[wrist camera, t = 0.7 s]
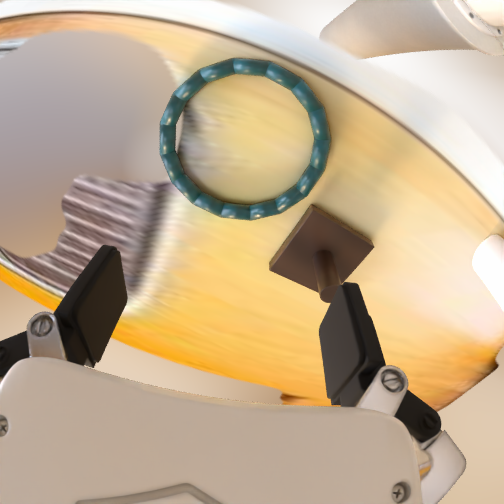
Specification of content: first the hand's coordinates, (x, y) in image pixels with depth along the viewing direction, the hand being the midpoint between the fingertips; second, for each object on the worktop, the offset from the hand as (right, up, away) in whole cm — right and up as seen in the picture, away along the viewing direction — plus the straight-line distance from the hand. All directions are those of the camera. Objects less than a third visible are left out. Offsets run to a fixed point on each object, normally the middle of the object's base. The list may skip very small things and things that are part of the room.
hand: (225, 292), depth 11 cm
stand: (+9, +2, +21) cm, 23 cm away
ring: (0, +12, +14) cm, 18 cm away
